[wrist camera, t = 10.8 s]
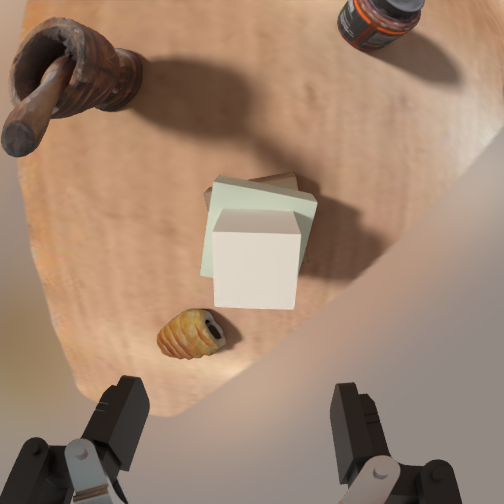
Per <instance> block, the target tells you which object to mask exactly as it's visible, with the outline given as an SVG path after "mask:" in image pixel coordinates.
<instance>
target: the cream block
mask: <svg viewBox="0 0 504 504" xmlns="http://www.w3.org/2000/svg"><path fill="white" fill-rule="evenodd" d="M300 242H301V233H300V230H299V227H298V224H297V221H296V218H295V216H294V213H293V211H285V210H257V209H222V211H221V213H220V215H219V218H218V220H217V222H216V224H215V226H214V229H213V231H212V246H213V277H214V301H215V307H229V308H255V309H294V305H295V295H296V286H297V275H298V265H299V253H300Z"/></svg>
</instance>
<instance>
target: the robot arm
mask: <svg viewBox="0 0 504 504" xmlns="http://www.w3.org/2000/svg"><path fill="white" fill-rule="evenodd" d="M149 409H150V403H149V398H148V396H147V393H146V391H145V388H144V385H143V382H142V380H141V378H140V377H133V376H126V375H123V376H122V377H121V378H120V380H119V382H118V384H117V386H114V385H111V386H110V387H109V388H108V389H107V390H106V391H105V392H104V393H103V395H102V397H101V399H100V401H99V403H98V405H97V407H96V410H95V411H94V413H93V415H92V417H91V419H90V421H89V423H88V425H87V427H86V429H85V431H84V433H83V435H82V437H81V438H80V439H75V440H73V441H71V442H70V443H69V444H68V445H67V446H50V445H48V444H47V443H46V442H45V441H44V440H43V439H42V438H38V437H34V438H31V439H29V440H27V441H26V442H25V443H24V445H23V447H22V449H21V451H20V453H19V455H18V457H17V459H16V462H15V464H14V466H13V468H12V471H11V472H10V475H9V477H8V479H7V482H6V484H5V486H4V489H3V491H2V494H1V496H0V504H70V502H71V499H72V496H73V493H74V490H75V493H76V496H73V502H74V504H131V503H130V501H129V499H128V497H127V495H126V493H125V491H124V489H123V486H122V484H121V482H120V480H119V477H118V473H119V470H124V471H129V468H130V465H131V462H132V459H133V456H134V454H135V451H136V448H137V445H138V442H139V439H140V436H141V433H142V430H143V428H144V425H145V422H146V419H147V416H148V413H149ZM330 420H331V427H332V433H333V439H334V446H335V452H336V459H337V466H338V473H339V481H340V484H348V491H347V492H346V494H345V495H344V496H343V498H342V499H341V501H340V502H339V503H338V504H462V501H461V497H460V493H459V489H458V485H457V482H456V478H455V474H454V471H453V468H452V467H451V465H450V464H449V463H448V462H446V461H443V460H432V461H430V462H428V463H427V464H426V465H425V466H410V465H403V464H400V463H398V462H397V461H396V460H394V459H393V458H392V457H391V455H390V453H389V450H388V447H387V443H386V440H385V436H384V433H383V429H382V426H381V423H380V419H379V416H378V412H377V409H376V406H375V403H374V401H373V400H372V399H371V398H370V397H369V395H368V394H358V391H357V387H356V384H355V383H354V382H352V383H341V384H340V383H339V384H336V385H335V390H334V394H333V398H332V402H331V407H330Z"/></svg>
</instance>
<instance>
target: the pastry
mask: <svg viewBox="0 0 504 504" xmlns="http://www.w3.org/2000/svg"><path fill="white" fill-rule="evenodd" d="M157 344H158V346H159V348H160V349H161V352H162V353H163V354H164V355H167V356H169V357H174V358H178V359H183V358H186V359H188V360H190V359H192V358H201V357H202V356H203V355H208V356H210V355H212V354H214V353H215V352H216V351H217V350H218V349H219V348H221V347H222V346H225V345H226V338H225V336H224V334H223V330H222V328H221V327H220V326H219V325H218V324H217V323H216V322H215V321H214V318H213V316H212V315H211V314H210V312H208V311H206V310H200V309H189V310H186V311H184V312H182V313H181V314H179V315H178V316H176V317H175V318H173V319H172V320H171V321H170V322H169V323H168V324H167V325H166V326H164V327H163V328H162V329H161V331H160V333H159V334H158V336H157Z"/></svg>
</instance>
